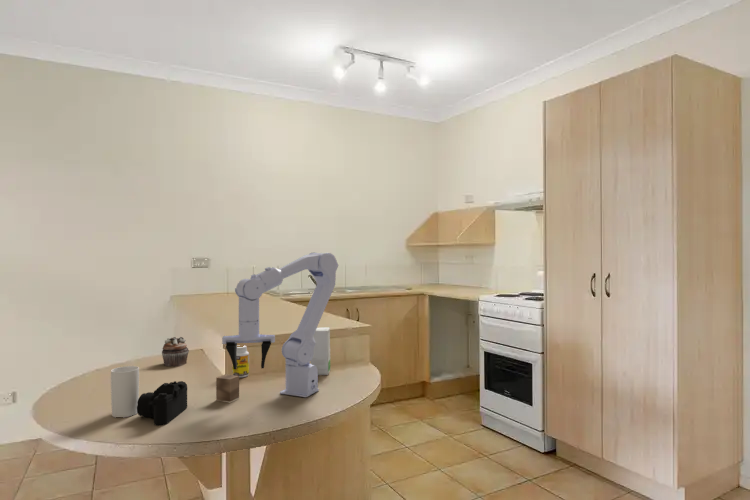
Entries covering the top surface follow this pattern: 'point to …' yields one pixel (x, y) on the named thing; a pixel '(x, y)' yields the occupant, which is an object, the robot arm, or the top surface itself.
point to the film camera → (164, 402)
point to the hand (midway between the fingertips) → (249, 368)
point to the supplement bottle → (242, 362)
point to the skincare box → (322, 350)
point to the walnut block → (227, 388)
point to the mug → (124, 391)
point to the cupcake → (175, 352)
